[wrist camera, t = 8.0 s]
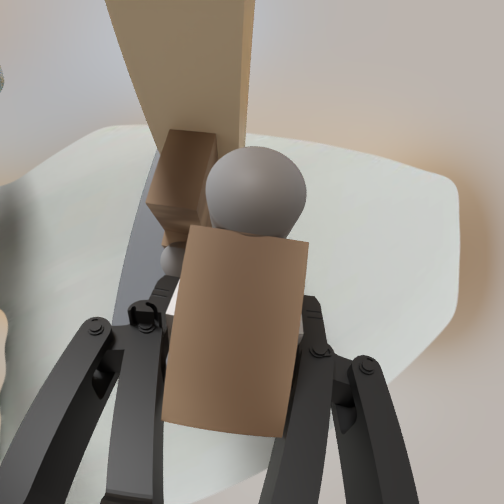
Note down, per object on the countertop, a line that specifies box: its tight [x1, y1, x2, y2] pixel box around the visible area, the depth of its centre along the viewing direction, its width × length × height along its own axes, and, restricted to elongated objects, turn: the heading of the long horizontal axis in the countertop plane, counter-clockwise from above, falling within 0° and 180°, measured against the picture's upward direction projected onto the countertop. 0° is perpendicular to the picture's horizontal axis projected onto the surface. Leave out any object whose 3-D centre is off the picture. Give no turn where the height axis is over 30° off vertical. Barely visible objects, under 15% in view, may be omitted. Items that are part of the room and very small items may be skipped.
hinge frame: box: [105, 0, 255, 365], centre depth 18 cm, size 14×25×25 cm, turn 171°
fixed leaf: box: [145, 129, 218, 277], centre depth 24 cm, size 4×10×11 cm, turn 171°
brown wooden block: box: [161, 146, 309, 438], centre depth 14 cm, size 4×9×11 cm, turn 172°
